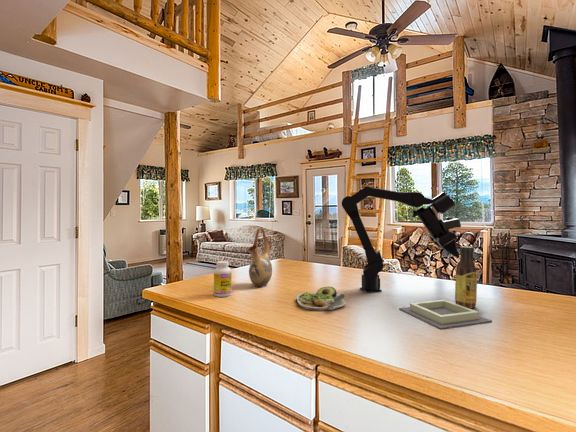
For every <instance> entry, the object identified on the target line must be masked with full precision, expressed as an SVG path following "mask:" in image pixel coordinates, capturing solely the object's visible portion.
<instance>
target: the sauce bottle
mask: <svg viewBox="0 0 576 432" xmlns="http://www.w3.org/2000/svg"><path fill="white" fill-rule="evenodd" d="M459 251H460V253H459V256H460V257H459V259H460V260H459V261H458V263H457V264H456V266H455V282H454V285H455V286H454V287H455V288H454V290H455V291H454V300H455V301H454V303H455V304H458V305H461V306H463V307H466V308H469V309H474V308H476V305H477V300H478V299H477V295H478V293H477V292H478V291H477V290H478V286H477V285H478V270H477V267H476V265H475V262H474V251H475V247H474V246H466V245H465V246H463V245H461V246H460V247H459Z"/></svg>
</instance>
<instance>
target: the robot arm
mask: <svg viewBox="0 0 576 432" xmlns="http://www.w3.org/2000/svg"><path fill="white" fill-rule="evenodd" d="M369 197H371V198H375V199H376V198H377V199H382V200H386V201H387V200H389V201H394V202H398V203H400V204H403V205H405V206H408V207H410V208H418V209H416V210H415V209H413V210H411V218H415V217H417V218H418V219H419V220H420V222H421V223H422V224H423V226H424V229H425V230H426V231H427V232H428V233H429V235H428V238H429V240H430V241H431V243H433V244H434V245H436V246H438V247H439V248H440V249H441V250H443V251H445V253H447V254H448V255H452V257H455V258H456V259H460V253H459V251H458V248H457V245H456V242H457V241H458V235H457V234H456V232H453V231H450V230H451V229H455V228H462V225H461V221H460V218H456V217H455V218H453V217H452V216H446V217H445V220H442V219H440V218H439V217H438V216H437V214H440V215H443V214H445V213H446V212H448V211H449V210H451V209H453V208H455V207H456V203H455V201H454V200H453V198H451V197H450V196H449V194H447V193H446V192H445V191H442V192H441V193H439V194H438V195H437V196H435V197H434V198H428V197H426V196H425V195H424V194H423V193H422V192H419V191H418V192H417V191H414V192H413V191H412V192H411V191H407V192H405V191H404V192H401V191H393V190H389V189H383V188H377V187H372V186H370V185H369V186H368V185H367V186H364V187H363V188H362V189H360V190H359V191H357V192H355V193H354V194H352V195H351V196H350V195H348V196H345V197H343V198H342V200H341V206H342V208H343V209H344V211H345V213H346V214H347V216H348V217H349V219H350V220H351V223H352V225H353V227H354V228H355V232H356V234H357V236H358V239H359V241H360V243H361V245H362V248H363V250H364V253H365V257H366V262H367V263H366V264H365V265H364V266H363V267H362V274H361V287H359V290H361V291H364V292H366V293H379V292H382V289H381V278H380V274H379V273H380V272H382V271H383V270H384V267H385V265H384V262H385V260H384V258H383V256H382V255H381V254H382V253H381V251H380V250H376V249H375V247H374V246H373V243H372V241H371V239H370V236H369V234H368V232H367V230H366V227H365V226H364V223H363V220H362V218H361V215H360V211H359V207H358V203H360V202H362V201H364V200H365V199H366V198H369ZM425 205H427V206H425ZM424 206H425V207H424Z"/></svg>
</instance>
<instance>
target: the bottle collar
mask: <svg viewBox="0 0 576 432" xmlns="http://www.w3.org/2000/svg"><path fill="white" fill-rule="evenodd" d="M409 307H410V310H412V311H414V312H416V313H418V314H420V315H423V316H425V317H427V318H429V319H431V320H433V321H436V322H438V323H440V324H445V323H452V322H460V321H467V320H474V319H479V316H480V312H479V311H477V310H474V309H473V308H466V307H463V306H461V305H458V304H456V303H455V302H452V301H450V300H447V299H437V300H436V299H435V300H429V301H420V302H419V301H417V302H411V303H409ZM440 307H445V308H448V309H450V310H453V311H455V312H458V313H454V314H446V315H440V314H438V313H435V312H433V311H431V310H428V309H431V308H440Z"/></svg>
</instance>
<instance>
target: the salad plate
mask: <svg viewBox="0 0 576 432" xmlns="http://www.w3.org/2000/svg"><path fill="white" fill-rule="evenodd" d="M345 296H346V294H343V293H341V294H339V293H337V290H336V288H335V287H334V286H323V287H320V288H319V289H318V290H317V291H316V293H314V292H313V293H312V292H305V293H300V294H297V295H296V297H295V300H296V302H297V304H298V305H299V306H300V307H301V308H303V309H304V310H307V311H308V310H309V311H333V310H337V309H340V308H342V307H344V306H345V305H346V304H347V302H346V301H345V299H344V298H345ZM305 304H306V305H305ZM309 305H314V306H309Z"/></svg>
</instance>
